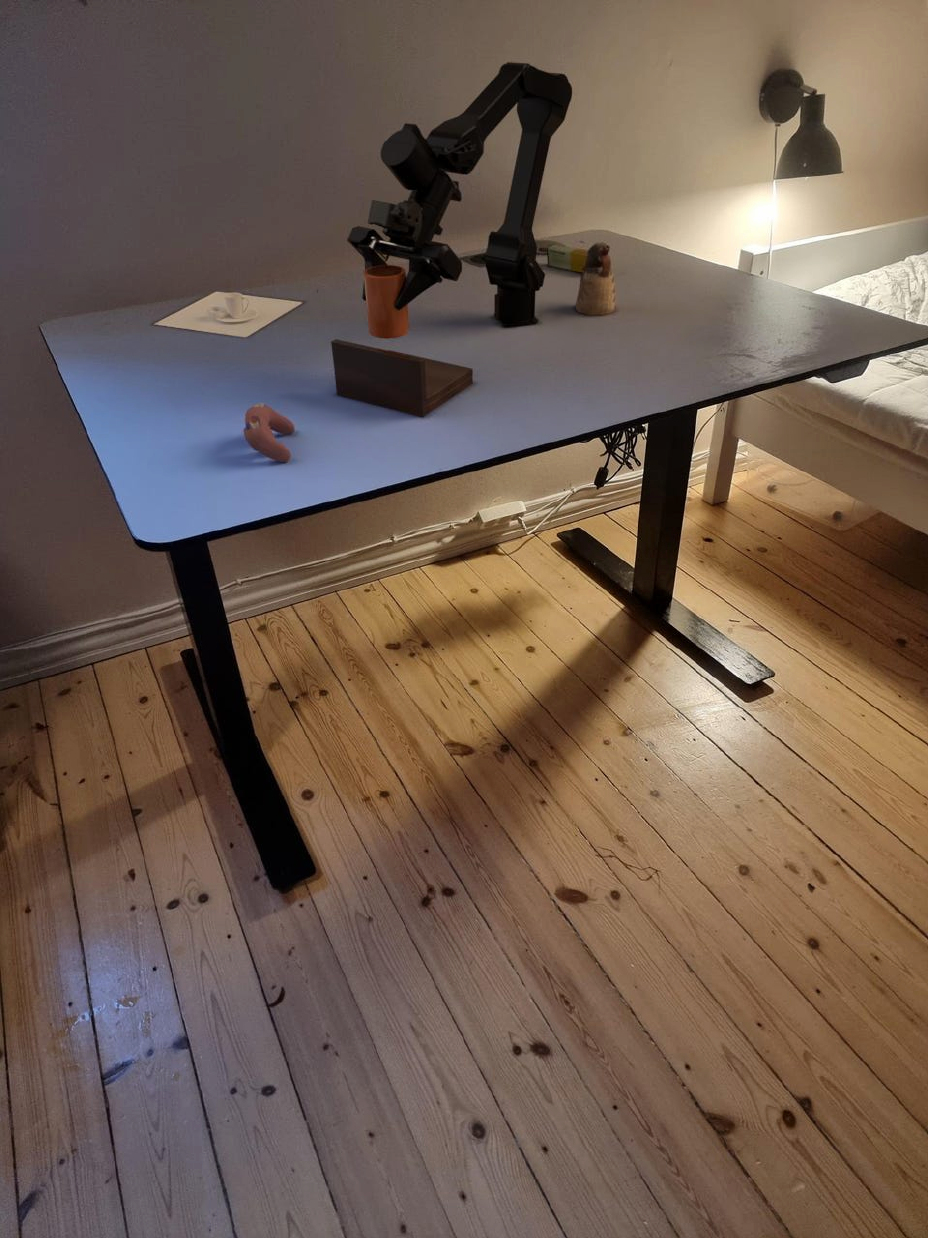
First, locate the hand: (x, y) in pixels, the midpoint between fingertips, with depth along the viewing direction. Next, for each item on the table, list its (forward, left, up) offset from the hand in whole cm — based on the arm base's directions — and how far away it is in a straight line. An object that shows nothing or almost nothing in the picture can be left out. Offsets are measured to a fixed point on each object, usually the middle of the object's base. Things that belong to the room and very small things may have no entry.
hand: (380, 304), depth 133 cm
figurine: (-45, -20, -13) cm, 51 cm away
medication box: (-51, -44, -13) cm, 69 cm away
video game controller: (+21, +16, -13) cm, 29 cm away
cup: (-1, -1, -4) cm, 5 cm away
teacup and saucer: (+20, -43, -13) cm, 49 cm away
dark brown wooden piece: (-2, +3, -12) cm, 13 cm away
